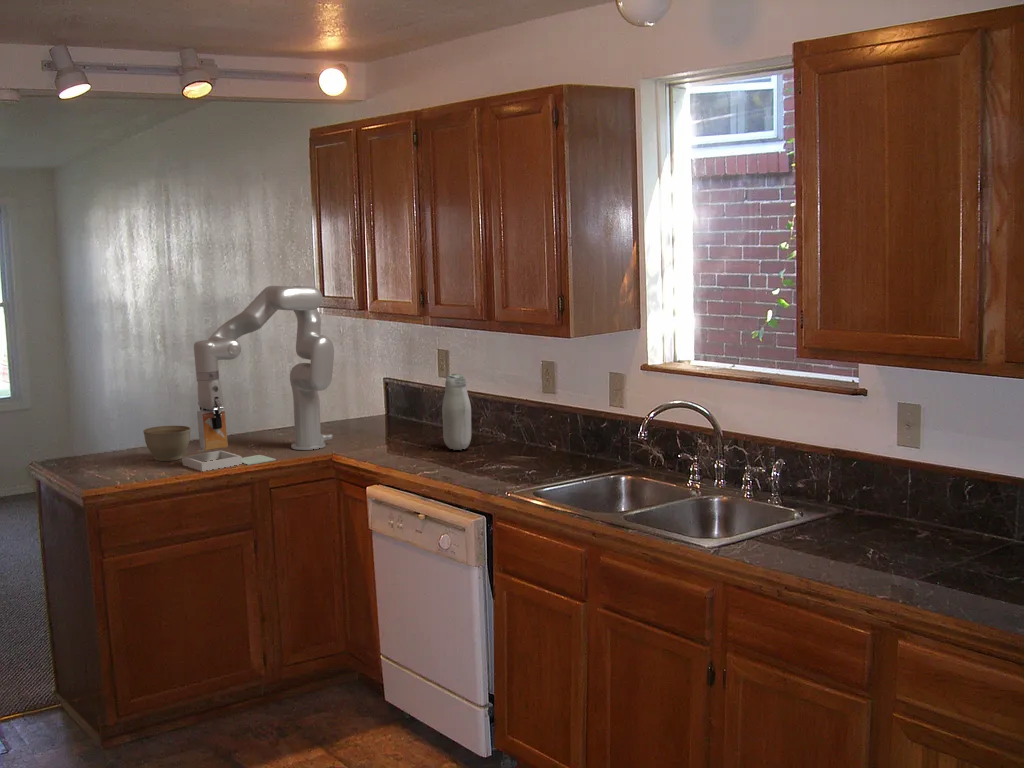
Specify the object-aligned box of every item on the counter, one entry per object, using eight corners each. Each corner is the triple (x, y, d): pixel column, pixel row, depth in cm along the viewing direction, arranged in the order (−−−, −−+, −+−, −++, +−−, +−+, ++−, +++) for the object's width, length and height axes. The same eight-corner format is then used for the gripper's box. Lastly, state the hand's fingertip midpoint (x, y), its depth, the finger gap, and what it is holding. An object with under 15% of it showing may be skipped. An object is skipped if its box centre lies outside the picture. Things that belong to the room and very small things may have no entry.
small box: (205, 450, 370) (202, 413, 368) (199, 447, 375) (196, 411, 373) (228, 447, 374) (225, 410, 372) (222, 444, 379) (219, 407, 377)
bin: (221, 458, 385) (221, 450, 384) (241, 464, 374) (241, 456, 374) (182, 465, 375) (182, 456, 375) (202, 471, 364) (201, 462, 364)
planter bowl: (177, 464, 376) (175, 433, 375) (136, 462, 380) (134, 432, 379) (201, 455, 392) (199, 425, 390) (161, 453, 396) (159, 424, 394)
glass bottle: (477, 449, 393) (475, 373, 389) (456, 454, 386) (454, 376, 382) (459, 446, 400) (457, 371, 396) (438, 450, 393) (436, 374, 389)
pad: (260, 455, 389) (260, 454, 389) (275, 460, 381) (275, 459, 381) (232, 460, 381) (232, 459, 381) (247, 465, 373) (247, 464, 373)
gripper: (229, 377, 367) (234, 428, 369) (206, 372, 379) (210, 422, 382) (209, 380, 362) (214, 432, 365) (186, 375, 374) (190, 425, 377)
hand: (212, 426), depth 373 cm, fingers closed on small box, 6 cm apart
